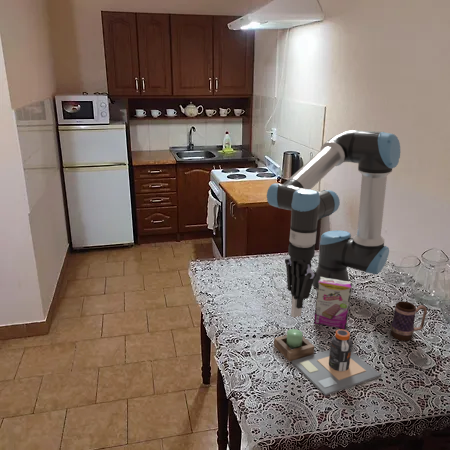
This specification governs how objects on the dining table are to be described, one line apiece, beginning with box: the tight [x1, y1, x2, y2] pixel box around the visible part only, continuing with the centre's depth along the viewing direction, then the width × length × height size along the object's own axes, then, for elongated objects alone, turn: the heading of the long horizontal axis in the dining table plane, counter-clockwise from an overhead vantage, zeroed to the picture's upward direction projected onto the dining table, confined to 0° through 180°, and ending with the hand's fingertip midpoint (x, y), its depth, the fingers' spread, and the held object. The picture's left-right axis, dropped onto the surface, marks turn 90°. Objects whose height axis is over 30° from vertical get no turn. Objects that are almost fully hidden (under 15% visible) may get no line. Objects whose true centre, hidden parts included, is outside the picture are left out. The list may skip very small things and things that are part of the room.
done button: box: [286, 328, 304, 350], centre depth 134 cm, size 5×5×4 cm
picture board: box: [291, 349, 382, 397], centre depth 127 cm, size 20×16×1 cm
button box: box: [273, 334, 316, 363], centre depth 135 cm, size 9×9×3 cm
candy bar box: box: [313, 277, 353, 330], centre depth 148 cm, size 11×5×16 cm, turn 71°
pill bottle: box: [329, 328, 353, 371], centre depth 125 cm, size 6×6×11 cm
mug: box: [389, 300, 428, 342], centre depth 142 cm, size 10×7×12 cm
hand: (296, 315), depth 131 cm, fingers closed
